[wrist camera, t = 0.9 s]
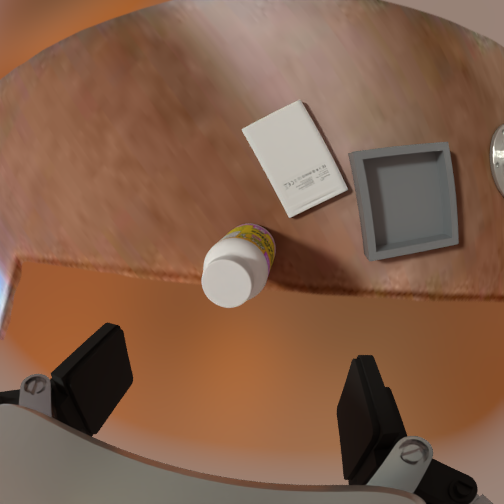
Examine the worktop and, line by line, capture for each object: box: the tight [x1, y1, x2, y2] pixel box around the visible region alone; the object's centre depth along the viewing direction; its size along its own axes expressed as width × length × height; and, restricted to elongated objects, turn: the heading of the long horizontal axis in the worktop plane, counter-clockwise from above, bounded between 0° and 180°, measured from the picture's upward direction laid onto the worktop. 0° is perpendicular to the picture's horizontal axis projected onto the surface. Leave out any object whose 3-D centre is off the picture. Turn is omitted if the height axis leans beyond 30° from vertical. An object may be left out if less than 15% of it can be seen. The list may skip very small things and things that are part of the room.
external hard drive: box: [242, 100, 348, 218], centre depth 33 cm, size 2×8×12 cm
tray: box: [348, 142, 458, 261], centre depth 31 cm, size 13×13×3 cm
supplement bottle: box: [202, 224, 276, 308], centre depth 31 cm, size 7×7×13 cm
